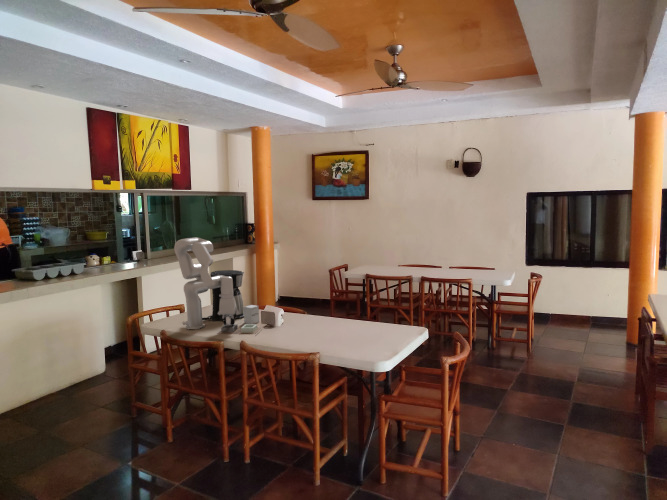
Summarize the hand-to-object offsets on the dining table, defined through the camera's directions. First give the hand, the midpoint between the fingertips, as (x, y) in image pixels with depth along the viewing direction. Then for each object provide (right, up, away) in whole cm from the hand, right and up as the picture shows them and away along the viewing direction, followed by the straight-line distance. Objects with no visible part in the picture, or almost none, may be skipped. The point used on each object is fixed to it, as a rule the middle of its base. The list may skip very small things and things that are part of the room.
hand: (229, 324), depth 298 cm
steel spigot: (0, -4, 0) cm, 4 cm away
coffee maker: (-14, -2, +44) cm, 46 cm away
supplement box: (+11, -4, +19) cm, 23 cm away
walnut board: (+7, -6, 0) cm, 9 cm away
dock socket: (+13, -4, -1) cm, 14 cm away
